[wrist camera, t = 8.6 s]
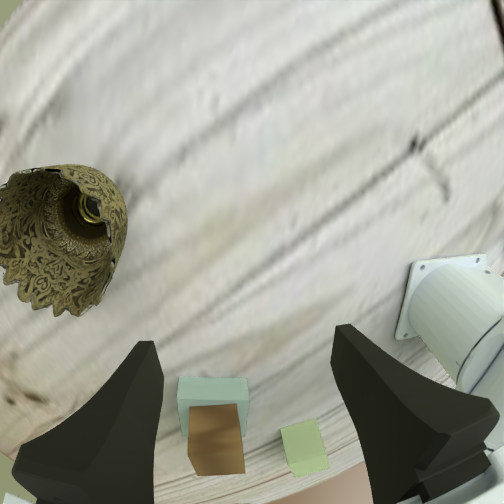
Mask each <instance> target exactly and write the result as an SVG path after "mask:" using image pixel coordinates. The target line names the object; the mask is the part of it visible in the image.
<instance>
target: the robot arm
mask: <svg viewBox="0 0 504 504" xmlns="http://www.w3.org/2000/svg"><path fill="white" fill-rule="evenodd" d="M486 261H487V255H486V254H484V253H482V254H474V255H466V256H457V257H448V258H439V259H430V260H421V261H415V262H414V263H413V264H412V266H411V270H410V275H409V280H408V285H407V289H406V294H405V298H404V302H403V307H402V311H401V315H400V319H399V323H398V326H397V330H396V334H395V338H396V339H397V340H404V339H408V338H413V337H417V336H420V337H421V339H422V340H423V341H424V343H425V344H426V345H427V346H428V348H429V349H430V350H431V352H432V353H433V354H434V356H435V357H436V358H437V359H438V361H439V362H440V363H441V365H442V366H443V368H444V369H445V370H446V372H447V373H448V374H449V376H450V377H451V378H452V380H453V381H454V383H455V384H456V385H457V386H456V388H455V390H454V389H451V388H449V387H446V386H444V385H441V384H439V383H437V382H434V381H432V380H430V379H428V378H426V377H424V376H422V375H420V374H418V373H417V372H415V371H413V370H411V369H410V368H408V367H406V366H405V365H403V364H402V363H400V362H399V361H397V360H396V359H394V358H393V357H391V356H390V355H389V354H387V353H386V352H385V351H383V350H382V349H381V348H379V347H378V346H377V345H376V344H374V343H373V342H372V341H371V340H369V339H368V338H367V337H366V336H364V335H363V334H362V333H361V332H360V331H358V330H357V329H356V328H355V327H353V326H352V325H351V324H345V325H338V326H336V328H335V335H334V342H333V348H332V355H331V361H330V364H331V367H332V371H333V374H334V378H335V381H336V384H337V386H338V389H339V391H340V393H341V396H342V398H343V400H344V403H345V405H346V407H347V409H348V412H349V414H350V416H351V418H352V421H353V423H354V425H355V428H356V431H357V434H358V437H359V440H360V444H361V447H362V451H363V455H364V459H365V463H366V467H367V471H368V476H369V480H370V485H371V491H372V497H373V503H374V504H504V278H503V277H501V276H500V275H499V274H497V273H496V272H495V271H493V270H492V269H491V268H489V267H488V266H486ZM422 265H423V266H422ZM421 266H422V267H421ZM420 267H421V268H420ZM404 334H405V335H404ZM163 387H164V375H163V372H162V369H161V365H160V362H159V359H158V355H157V352H156V348H155V345H154V341H139V342H138V343H137V344H136V345H135V346H134V348H133V349H132V350H131V352H130V353H129V354H128V356H127V357H126V358H125V360H124V361H123V362H122V363H121V365H120V366H119V367H118V368H117V370H116V371H115V372H114V373H113V375H112V376H111V377H110V378H109V380H108V381H107V382H106V383H105V384H104V385H103V386H102V387H101V389H100V390H99V391H98V392H97V393H96V394H95V395H94V396H93V397H92V398H91V399H90V400H89V401H88V402H87V403H86V404H85V405H83V406H82V407H81V408H80V409H79V410H78V411H76V412H75V413H74V414H72V415H71V416H70V417H69V418H67V419H66V420H65V421H63V422H62V423H60V424H59V425H57V426H56V427H54V428H53V429H51V430H50V431H48V432H46V433H45V434H43V435H41V436H39V437H37V438H35V439H33V440H31V441H29V442H27V443H25V444H23V445H21V447H20V449H19V452H18V455H17V457H16V460H15V463H14V466H13V468H12V475H13V477H14V478H15V480H16V481H17V482H18V483H19V484H20V485H22V486H23V487H24V488H25V489H26V490H27V491H29V492H30V493H31V494H32V495H34V496H35V497H36V498H37V501H36V504H154V487H153V468H154V448H155V440H156V435H157V429H158V423H159V418H160V412H161V406H162V400H163ZM3 504H34V503H32V502H30V501H28V500H26V499H23V498H21V497H18V496H15V495H13V494H11V493H6V494H5V498H4V501H3Z"/></svg>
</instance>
